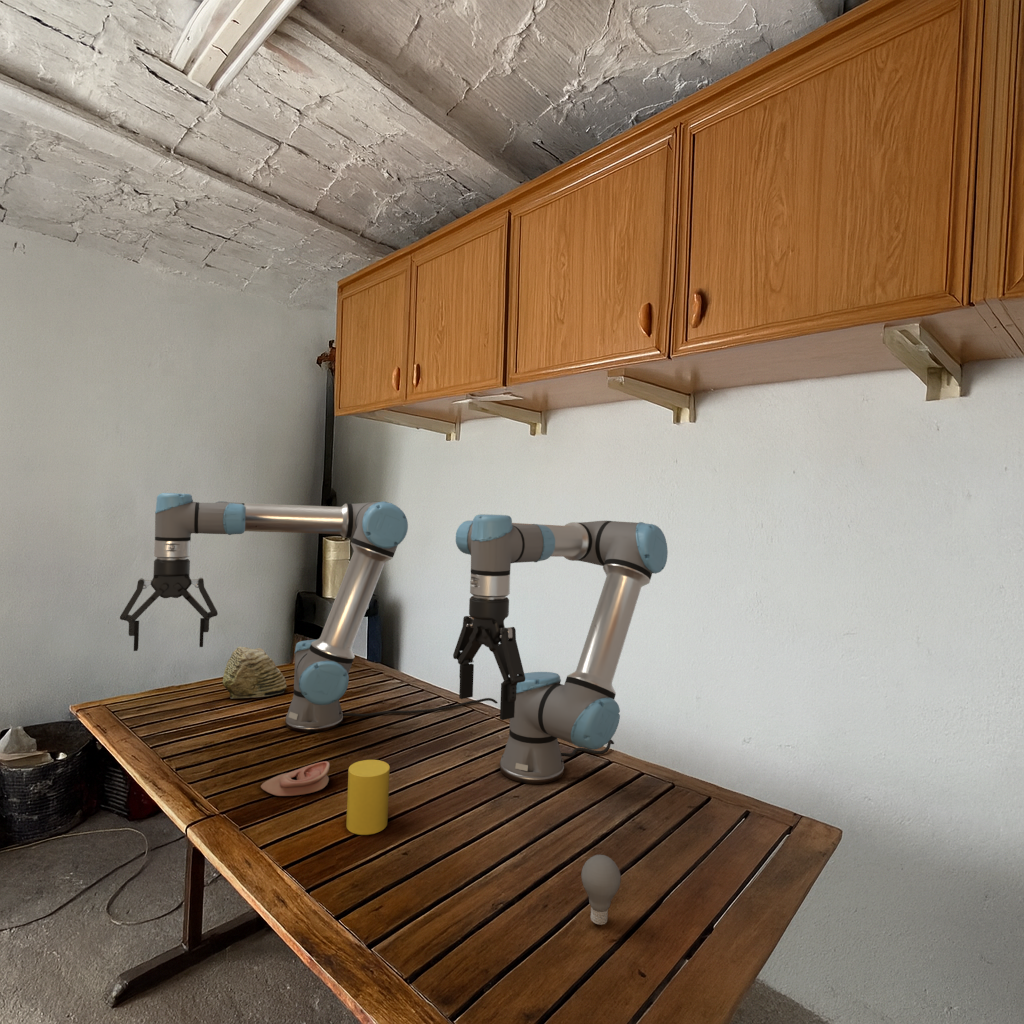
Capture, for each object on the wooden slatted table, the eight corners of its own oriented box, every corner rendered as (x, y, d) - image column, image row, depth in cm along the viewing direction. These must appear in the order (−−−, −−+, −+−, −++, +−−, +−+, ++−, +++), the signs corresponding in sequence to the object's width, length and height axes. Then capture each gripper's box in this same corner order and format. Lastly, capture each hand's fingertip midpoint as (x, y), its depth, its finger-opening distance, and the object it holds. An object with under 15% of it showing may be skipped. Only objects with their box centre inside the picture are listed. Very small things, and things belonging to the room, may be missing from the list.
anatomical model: (253, 773, 134) (283, 753, 145) (252, 792, 134) (282, 770, 145) (310, 782, 131) (336, 760, 142) (309, 801, 131) (335, 777, 143)
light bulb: (576, 909, 100) (578, 846, 100) (613, 909, 101) (616, 846, 100) (583, 935, 94) (586, 869, 94) (622, 935, 95) (626, 868, 94)
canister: (364, 810, 129) (366, 756, 129) (395, 820, 125) (397, 765, 125) (337, 827, 122) (339, 770, 122) (369, 839, 118) (372, 780, 118)
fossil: (218, 695, 195) (220, 647, 195) (278, 685, 208) (279, 640, 207) (228, 703, 189) (230, 653, 188) (289, 692, 201) (290, 645, 201)
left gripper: (108, 560, 141) (105, 655, 141) (230, 559, 152) (227, 647, 152) (111, 556, 147) (109, 647, 148) (229, 556, 159) (226, 640, 159)
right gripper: (438, 588, 127) (435, 692, 128) (513, 608, 107) (509, 732, 108) (469, 586, 132) (466, 687, 132) (547, 605, 112) (543, 723, 113)
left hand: (169, 647), depth 150 cm, fingers open, 13 cm apart
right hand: (485, 707), depth 120 cm, fingers open, 13 cm apart
